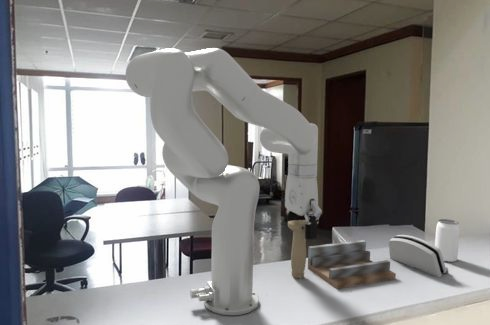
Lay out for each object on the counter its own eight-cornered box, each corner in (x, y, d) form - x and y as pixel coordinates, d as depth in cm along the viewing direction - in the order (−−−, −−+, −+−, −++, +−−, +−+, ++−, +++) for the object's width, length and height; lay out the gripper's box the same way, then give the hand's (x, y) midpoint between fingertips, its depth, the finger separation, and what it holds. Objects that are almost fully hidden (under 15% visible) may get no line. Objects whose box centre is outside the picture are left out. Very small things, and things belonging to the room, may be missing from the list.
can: (461, 262, 117) (464, 224, 116) (439, 262, 118) (443, 224, 116) (450, 255, 124) (453, 219, 123) (430, 254, 124) (433, 218, 123)
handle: (312, 279, 103) (314, 224, 101) (289, 280, 102) (291, 225, 100) (305, 272, 108) (308, 219, 106) (283, 273, 106) (285, 220, 104)
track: (336, 288, 97) (337, 264, 97) (307, 268, 110) (308, 246, 109) (395, 278, 104) (397, 255, 104) (361, 260, 117) (363, 240, 117)
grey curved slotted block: (450, 273, 109) (445, 243, 106) (440, 282, 107) (435, 251, 104) (399, 255, 123) (394, 227, 120) (390, 262, 121) (384, 234, 118)
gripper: (275, 166, 108) (274, 225, 110) (307, 176, 92) (305, 245, 94) (298, 165, 111) (297, 223, 113) (333, 174, 95) (331, 241, 97)
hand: (301, 233), depth 104 cm, fingers open, 9 cm apart
